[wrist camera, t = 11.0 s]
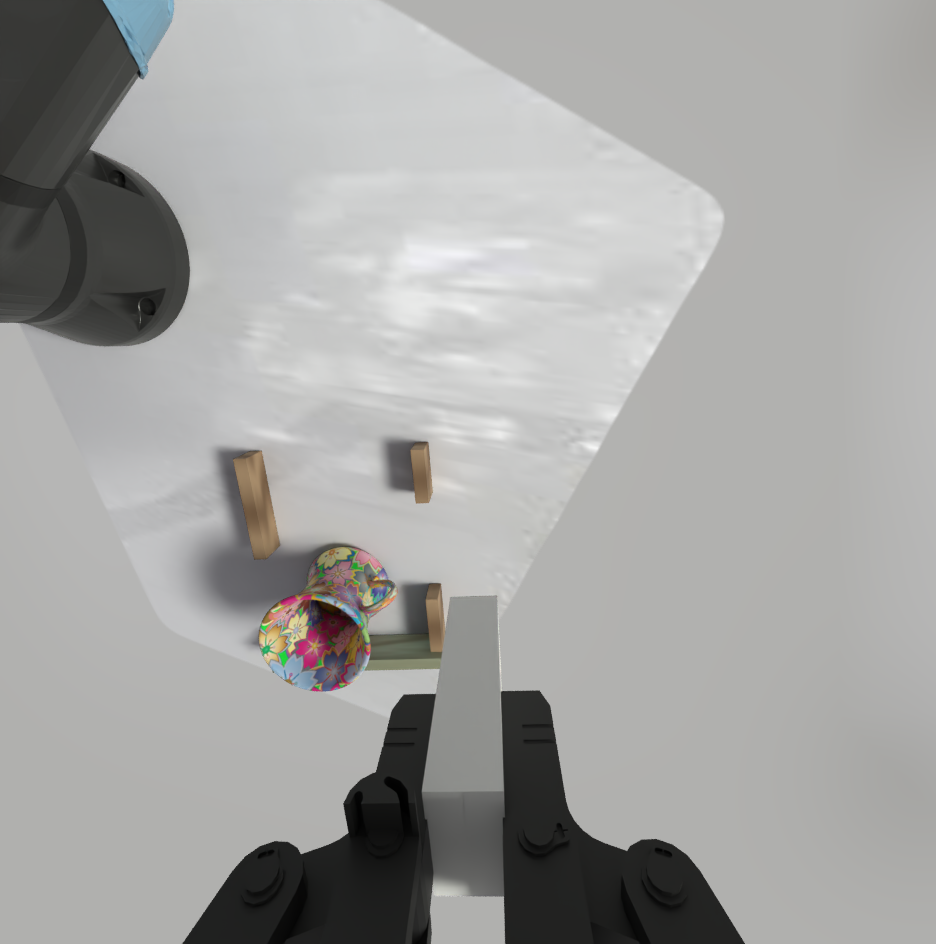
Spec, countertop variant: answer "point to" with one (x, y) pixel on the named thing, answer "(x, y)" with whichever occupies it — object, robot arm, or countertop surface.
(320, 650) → the mug
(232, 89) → the countertop surface
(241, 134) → the countertop surface
